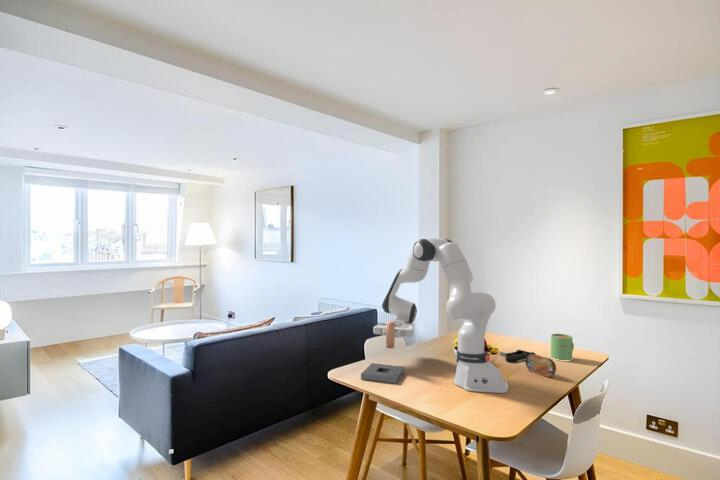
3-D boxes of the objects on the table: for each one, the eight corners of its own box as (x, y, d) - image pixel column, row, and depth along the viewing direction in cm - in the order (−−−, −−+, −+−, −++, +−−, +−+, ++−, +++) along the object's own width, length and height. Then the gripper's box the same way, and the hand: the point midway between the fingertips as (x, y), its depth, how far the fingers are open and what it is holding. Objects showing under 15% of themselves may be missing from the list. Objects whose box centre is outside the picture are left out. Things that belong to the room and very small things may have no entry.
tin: (524, 369, 190) (525, 352, 190) (529, 368, 192) (529, 351, 192) (552, 379, 177) (552, 360, 177) (557, 378, 179) (557, 360, 179)
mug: (560, 362, 203) (560, 338, 203) (546, 356, 213) (546, 334, 213) (581, 360, 206) (581, 337, 206) (566, 355, 216) (566, 333, 216)
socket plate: (404, 372, 185) (404, 367, 185) (396, 384, 169) (396, 378, 169) (371, 368, 190) (372, 363, 190) (361, 379, 175) (361, 373, 175)
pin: (395, 346, 191) (395, 321, 191) (393, 348, 187) (393, 323, 187) (387, 345, 192) (387, 321, 192) (385, 348, 189) (385, 322, 189)
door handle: (487, 351, 214) (511, 357, 200) (514, 347, 223) (538, 352, 209) (488, 357, 214) (511, 364, 199) (514, 353, 223) (538, 359, 208)
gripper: (377, 320, 206) (369, 325, 193) (416, 323, 199) (410, 329, 186) (377, 332, 206) (369, 338, 193) (416, 336, 199) (410, 342, 186)
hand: (389, 334), depth 189 cm, fingers closed on pin, 4 cm apart
